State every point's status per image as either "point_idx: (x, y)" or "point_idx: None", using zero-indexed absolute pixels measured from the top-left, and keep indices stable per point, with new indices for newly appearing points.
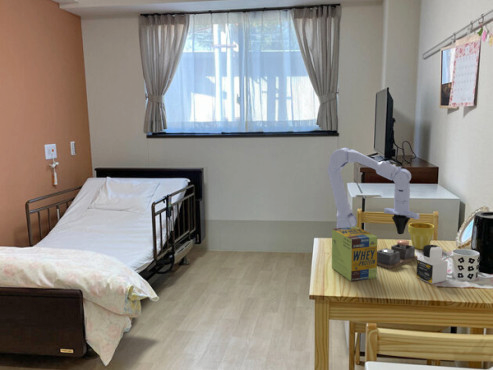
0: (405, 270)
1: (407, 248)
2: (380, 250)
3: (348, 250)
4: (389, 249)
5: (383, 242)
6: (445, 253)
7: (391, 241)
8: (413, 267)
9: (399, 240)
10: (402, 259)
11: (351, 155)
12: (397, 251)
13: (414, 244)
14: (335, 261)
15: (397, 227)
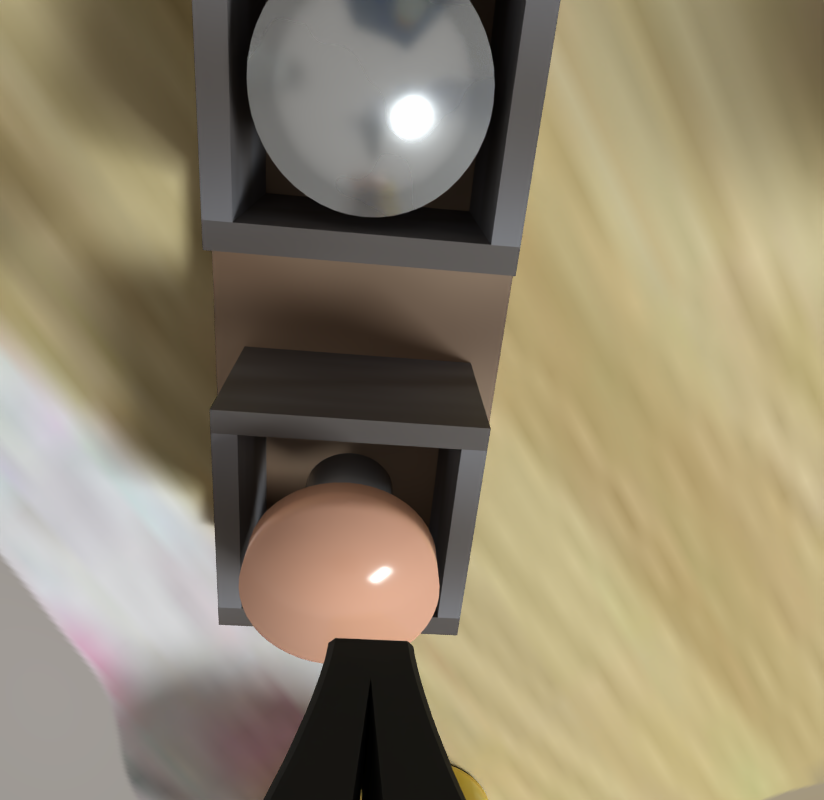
0: (26, 18)
1: (234, 491)
2: (523, 55)
3: None
4: (384, 187)
5: (773, 723)
6: (148, 797)
7: (713, 783)
8: (50, 227)
9: (414, 593)
10: (275, 332)
11: None
12: (246, 240)
13: None
14: None
15: (406, 775)
